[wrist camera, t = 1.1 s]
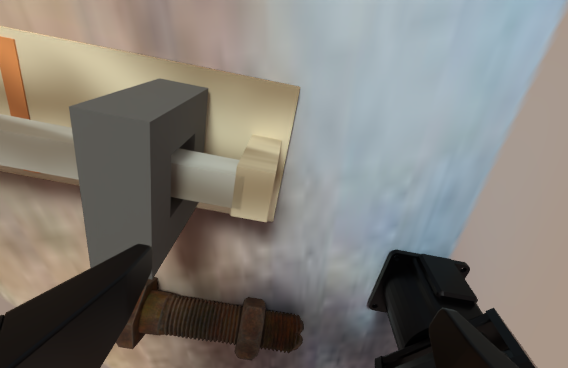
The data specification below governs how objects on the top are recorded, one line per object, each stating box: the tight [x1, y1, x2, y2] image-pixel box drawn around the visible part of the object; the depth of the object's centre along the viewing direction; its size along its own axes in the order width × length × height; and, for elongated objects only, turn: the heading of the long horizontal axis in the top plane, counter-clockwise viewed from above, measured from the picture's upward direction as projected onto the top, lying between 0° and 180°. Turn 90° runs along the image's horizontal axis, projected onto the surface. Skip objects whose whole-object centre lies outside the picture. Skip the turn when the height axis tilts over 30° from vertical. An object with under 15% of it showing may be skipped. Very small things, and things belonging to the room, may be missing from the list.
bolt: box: [116, 277, 304, 360], centre depth 26 cm, size 6×5×15 cm
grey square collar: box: [69, 78, 209, 280], centre depth 17 cm, size 8×3×8 cm, turn 169°
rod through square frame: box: [0, 26, 300, 222], centre depth 18 cm, size 10×26×6 cm, turn 79°
